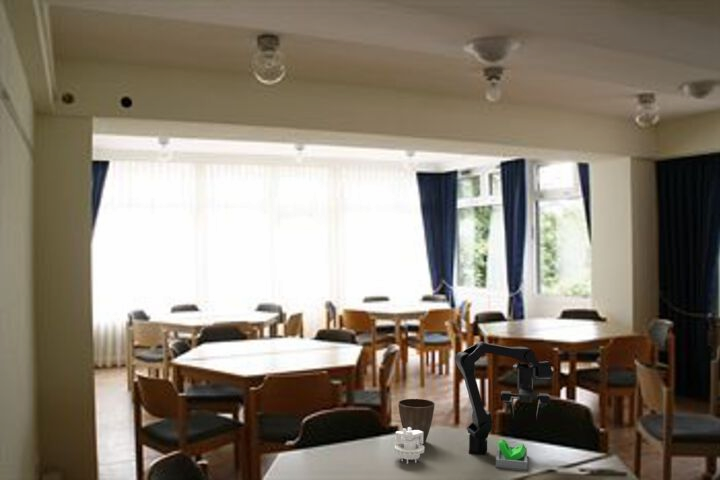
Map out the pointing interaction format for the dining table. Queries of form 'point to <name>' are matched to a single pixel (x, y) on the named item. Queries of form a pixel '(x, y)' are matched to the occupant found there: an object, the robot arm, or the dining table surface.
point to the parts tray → (511, 461)
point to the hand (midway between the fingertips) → (525, 418)
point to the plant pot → (417, 415)
